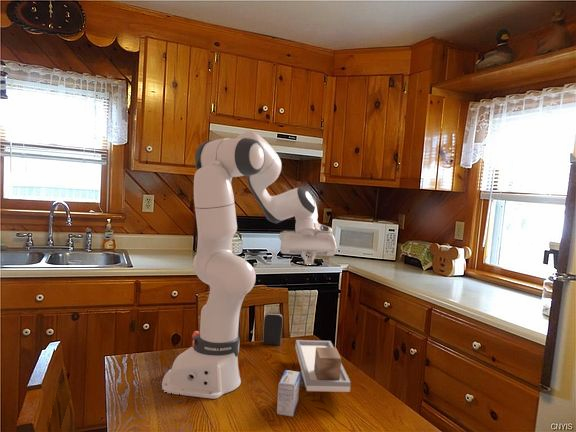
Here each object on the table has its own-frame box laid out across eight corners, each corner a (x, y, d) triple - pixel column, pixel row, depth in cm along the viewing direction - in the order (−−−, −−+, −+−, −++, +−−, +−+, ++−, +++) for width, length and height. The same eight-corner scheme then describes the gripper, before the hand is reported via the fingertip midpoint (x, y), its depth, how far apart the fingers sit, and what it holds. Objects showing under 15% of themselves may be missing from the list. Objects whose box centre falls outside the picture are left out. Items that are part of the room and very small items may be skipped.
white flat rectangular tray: (306, 391, 109) (307, 381, 109) (295, 347, 137) (295, 339, 137) (349, 391, 110) (350, 382, 110) (330, 348, 138) (330, 340, 138)
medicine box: (293, 417, 104) (295, 385, 103) (276, 414, 105) (278, 382, 104) (298, 401, 112) (300, 371, 111) (282, 398, 112) (284, 369, 112)
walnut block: (318, 382, 111) (320, 358, 111) (314, 370, 118) (315, 347, 118) (339, 382, 112) (341, 358, 111) (334, 370, 119) (336, 347, 118)
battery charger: (281, 341, 153) (283, 312, 152) (281, 345, 149) (283, 315, 148) (262, 340, 152) (264, 310, 151) (262, 344, 149) (264, 314, 148)
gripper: (280, 225, 146) (280, 257, 137) (335, 228, 148) (339, 259, 139) (278, 235, 151) (278, 267, 142) (332, 238, 153) (335, 269, 144)
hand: (309, 263), depth 141 cm, fingers closed
